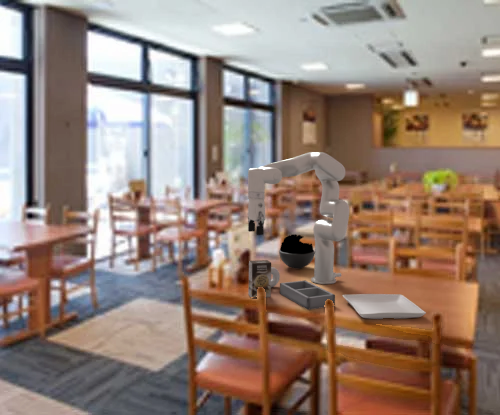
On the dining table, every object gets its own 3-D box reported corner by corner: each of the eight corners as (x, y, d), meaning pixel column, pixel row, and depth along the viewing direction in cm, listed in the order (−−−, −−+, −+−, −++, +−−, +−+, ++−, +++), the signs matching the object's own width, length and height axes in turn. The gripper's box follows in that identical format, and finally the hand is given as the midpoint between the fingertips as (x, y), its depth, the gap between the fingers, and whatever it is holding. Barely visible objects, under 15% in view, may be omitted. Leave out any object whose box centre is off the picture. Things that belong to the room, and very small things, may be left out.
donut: (264, 289, 243) (264, 269, 242) (260, 288, 246) (260, 267, 245) (280, 286, 249) (281, 266, 247) (276, 285, 252) (277, 265, 250)
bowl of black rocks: (296, 262, 301) (297, 231, 299) (321, 269, 286) (322, 235, 284) (271, 267, 288) (272, 234, 286) (296, 274, 273) (297, 239, 271)
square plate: (426, 321, 202) (427, 312, 201) (359, 322, 200) (359, 313, 199) (401, 301, 229) (401, 292, 228) (341, 302, 226) (341, 293, 226)
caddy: (279, 293, 237) (280, 283, 236) (304, 290, 242) (305, 280, 242) (307, 309, 214) (307, 298, 213) (334, 306, 219) (335, 294, 218)
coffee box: (251, 298, 229) (252, 263, 227) (248, 294, 235) (248, 260, 233) (271, 297, 231) (271, 262, 229) (266, 293, 237) (267, 259, 235)
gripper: (271, 197, 223) (271, 235, 225) (256, 193, 239) (255, 229, 241) (255, 197, 220) (255, 236, 222) (241, 194, 236) (241, 230, 238)
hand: (255, 233), depth 231 cm, fingers open, 9 cm apart
